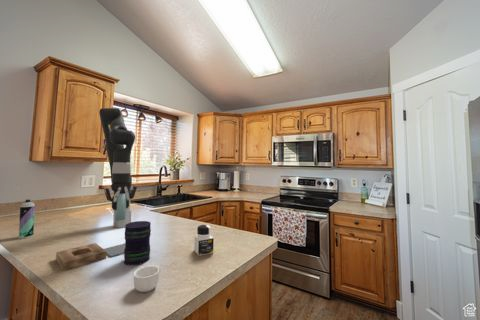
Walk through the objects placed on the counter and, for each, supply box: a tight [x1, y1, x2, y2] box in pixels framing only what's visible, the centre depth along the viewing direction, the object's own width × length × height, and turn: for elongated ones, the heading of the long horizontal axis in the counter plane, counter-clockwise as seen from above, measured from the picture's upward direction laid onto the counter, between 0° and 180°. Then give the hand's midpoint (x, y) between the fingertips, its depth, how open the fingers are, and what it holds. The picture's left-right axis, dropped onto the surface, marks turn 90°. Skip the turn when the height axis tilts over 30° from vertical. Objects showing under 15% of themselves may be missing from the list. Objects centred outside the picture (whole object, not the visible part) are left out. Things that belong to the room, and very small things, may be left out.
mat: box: [103, 242, 125, 258], centre depth 97 cm, size 11×11×1 cm
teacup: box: [133, 265, 161, 293], centre depth 69 cm, size 10×8×5 cm
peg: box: [115, 193, 126, 221], centre depth 98 cm, size 4×4×12 cm
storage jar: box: [123, 220, 152, 266], centre depth 88 cm, size 10×10×15 cm
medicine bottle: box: [193, 224, 214, 257], centre depth 97 cm, size 7×7×12 cm
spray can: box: [18, 199, 36, 240], centre depth 113 cm, size 6×6×20 cm
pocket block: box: [55, 242, 107, 272], centre depth 88 cm, size 14×14×3 cm
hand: (120, 208), depth 98 cm, fingers closed on peg, 4 cm apart
